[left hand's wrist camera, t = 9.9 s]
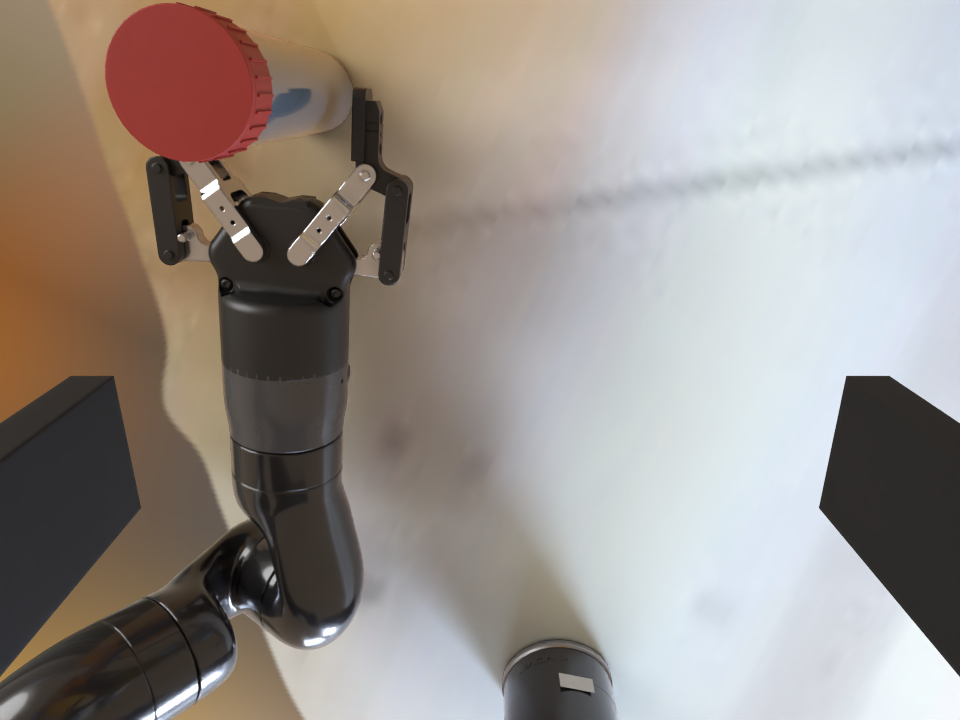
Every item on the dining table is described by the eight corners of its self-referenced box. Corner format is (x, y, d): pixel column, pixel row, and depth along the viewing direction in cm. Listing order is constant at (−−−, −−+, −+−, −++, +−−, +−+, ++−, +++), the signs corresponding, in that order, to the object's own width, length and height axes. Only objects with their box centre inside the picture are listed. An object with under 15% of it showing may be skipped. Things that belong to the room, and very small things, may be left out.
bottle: (261, 70, 42) (89, 47, 24) (331, 36, 41) (206, -15, 23) (299, 145, 43) (163, 177, 25) (366, 113, 43) (276, 123, 25)
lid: (108, 47, 26) (71, 41, 23) (230, -17, 25) (204, -28, 22) (183, 180, 27) (155, 187, 25) (299, 125, 26) (282, 127, 24)
